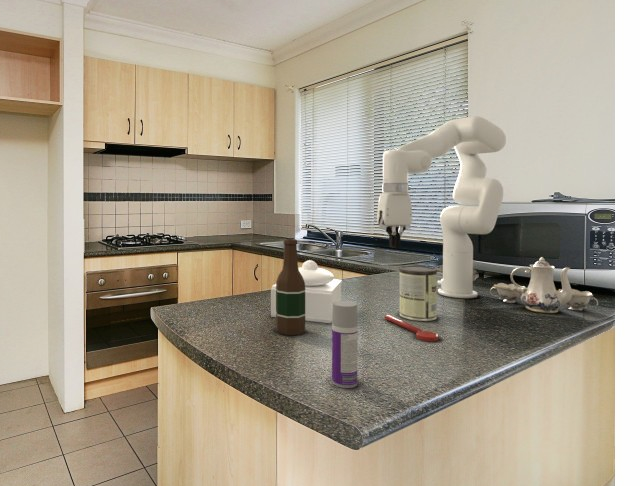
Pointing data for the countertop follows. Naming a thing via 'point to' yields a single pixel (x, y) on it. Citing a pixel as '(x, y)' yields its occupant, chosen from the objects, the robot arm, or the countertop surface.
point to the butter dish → (315, 293)
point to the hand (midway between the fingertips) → (394, 247)
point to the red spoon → (414, 329)
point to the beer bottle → (290, 293)
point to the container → (344, 344)
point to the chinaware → (544, 290)
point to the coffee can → (418, 293)
